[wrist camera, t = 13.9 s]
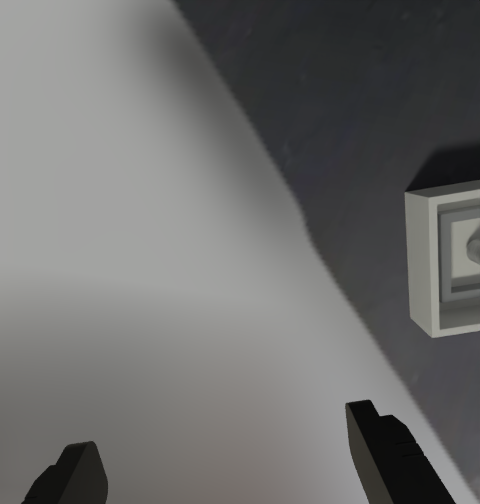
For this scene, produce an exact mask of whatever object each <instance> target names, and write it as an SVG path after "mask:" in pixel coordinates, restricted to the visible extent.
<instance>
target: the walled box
mask: <svg viewBox="0 0 480 504" xmlns="http://www.w3.org/2000/svg"><path fill="white" fill-rule="evenodd" d="M405 212H406V235H407V258H408V281H409V303H410V318H411V319H412V320H413V321H415V322H416V323H417V324H418V325H419V326H420V327H421V328H422V329H423V330H424V331H425V332H426V333H427V334H428V335H430V336H431V337H432V338H435V337H441V336H448V335H454V334H461V333H467V332H473V331H480V265H479V264H477V263H475V262H473V261H471V260H470V259H469V258H468V257H467V254H466V250H467V247H468V245H469V244H470V243H471V242H472V241H473V240H475V239H478V238H480V180H475V181H469V182H463V183H457V184H451V185H445V186H439V187H433V188H427V189H421V190H415V191H409V192H405Z"/></svg>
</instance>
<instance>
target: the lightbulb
mask: <svg viewBox="0 0 480 504" xmlns="http://www.w3.org/2000/svg"><path fill="white" fill-rule="evenodd" d="M466 254H467V257H468V258H469V259H470V260H471V261H473V262H475V263H477V264H479V265H480V238H478V239H475V240H473V241H472V242H471V243H470V244H469V245H468V247H467V250H466Z"/></svg>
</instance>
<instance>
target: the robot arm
mask: <svg viewBox="0 0 480 504" xmlns="http://www.w3.org/2000/svg"><path fill="white" fill-rule="evenodd" d="M345 409H346V418H347V428H348V438H349V446H350V451H351V455H352V459H353V462H354V465H355V468H356V470H357V473H358V476H359V478H360V481H361V483H362V486H363V488H364V491H365V493H366V496H367V499H368V501H369V504H456V503H455V502H454V500H453V498H452V497H451V495H450V494H449V492H448V490H447V489H446V488H445V486H444V484H443V483H442V481H441V479H440V478H439V476H438V475H437V473H436V472H435V470H434V469H433V467H432V465H431V464H430V462H429V461H428V459H427V457H426V456H424V453H423V451H422V450H421V448H420V446H419V445H418V444H417V443H416V440H415V439H414V437H413V435H412V434H411V432H410V431H409V429H408V428H407V426H406V425H405V424H403V423H402V422H401V421H399V420H398V419H397V418H396V417H394V416H393V415H386V416H379V414H378V412H377V411H376V409H375V408H374V405H373V403H372V402H371V400H362V401H356V402H349V403H346V406H345ZM107 494H108V481H107V477H106V474H105V471H104V468H103V464H102V462H101V458H100V455H99V452H98V449H97V446H96V444H95V443H94V442H93V441H89V442H83V443H76V444H70V445H68V446H66V447H65V449H64V450H63V452H62V454H61V456H60V458H59V459H58V461H57V463H56V465H51V466H49V467H48V468H47V469H46V470H45V471H44V472H43V473H42V474H41V475H40V476H39V477H38V478H37V479H36V480H35V481H34V483H33V485H32V486H31V488H30V490H29V492H28V493H27V495H26V497H25V500H24V501H23V502H22V503H21V504H105V503H106V500H107Z"/></svg>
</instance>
